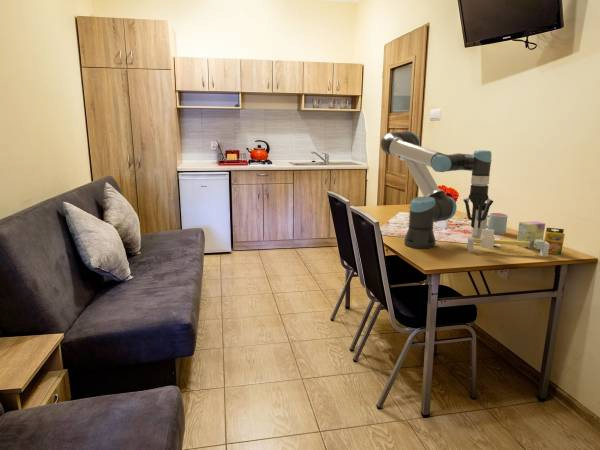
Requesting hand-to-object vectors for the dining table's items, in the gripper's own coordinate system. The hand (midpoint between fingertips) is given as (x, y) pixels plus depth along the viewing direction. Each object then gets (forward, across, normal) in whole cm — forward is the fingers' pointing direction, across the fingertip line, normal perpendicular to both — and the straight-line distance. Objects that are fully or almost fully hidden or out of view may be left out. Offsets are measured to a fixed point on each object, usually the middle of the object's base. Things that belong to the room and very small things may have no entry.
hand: (474, 234), depth 194 cm
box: (+8, +28, +16) cm, 34 cm away
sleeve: (+6, +6, 0) cm, 8 cm away
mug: (+8, +16, +40) cm, 44 cm away
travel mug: (+8, +6, +18) cm, 21 cm away
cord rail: (+8, +15, 0) cm, 17 cm away
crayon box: (+9, +36, +6) cm, 37 cm away
